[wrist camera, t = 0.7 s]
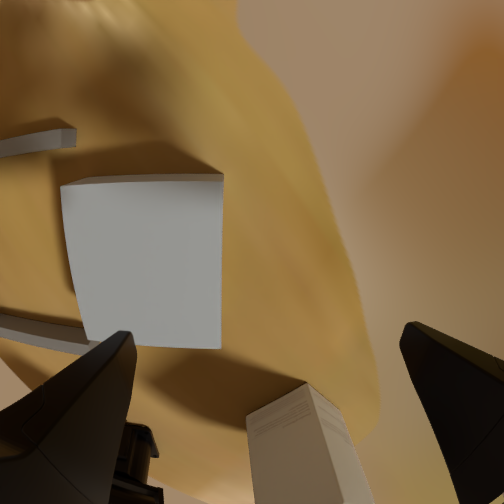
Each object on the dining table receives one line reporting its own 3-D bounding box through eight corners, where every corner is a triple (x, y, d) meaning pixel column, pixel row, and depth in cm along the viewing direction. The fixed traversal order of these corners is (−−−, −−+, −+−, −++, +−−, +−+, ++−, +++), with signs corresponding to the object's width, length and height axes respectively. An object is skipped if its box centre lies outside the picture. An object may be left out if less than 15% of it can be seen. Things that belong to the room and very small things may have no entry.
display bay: (99, 341, 21) (91, 357, 19) (-7, 321, 20) (-16, 331, 18) (76, 128, 15) (61, 128, 13) (-37, 152, 14) (-52, 155, 12)
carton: (221, 314, 21) (221, 348, 17) (106, 308, 20) (87, 339, 17) (224, 173, 18) (223, 181, 14) (89, 176, 17) (60, 186, 13)
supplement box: (242, 415, 25) (254, 532, 13) (307, 379, 24) (347, 504, 12) (284, 440, 28) (304, 537, 16) (342, 410, 26) (379, 509, 15)
